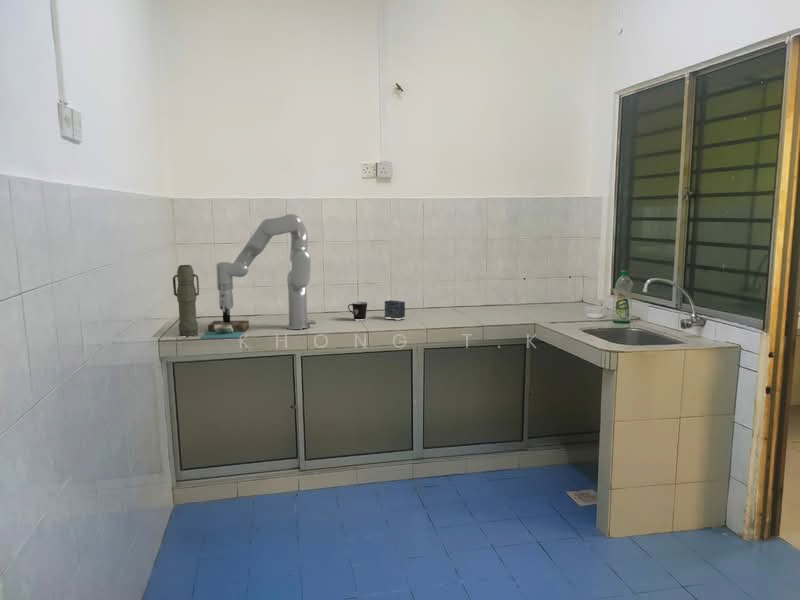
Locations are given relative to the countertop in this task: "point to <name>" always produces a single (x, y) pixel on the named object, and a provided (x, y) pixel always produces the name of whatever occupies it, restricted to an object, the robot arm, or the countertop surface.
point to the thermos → (186, 300)
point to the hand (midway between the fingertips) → (226, 322)
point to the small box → (394, 309)
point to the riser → (236, 325)
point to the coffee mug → (359, 309)
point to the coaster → (223, 328)
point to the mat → (222, 335)
